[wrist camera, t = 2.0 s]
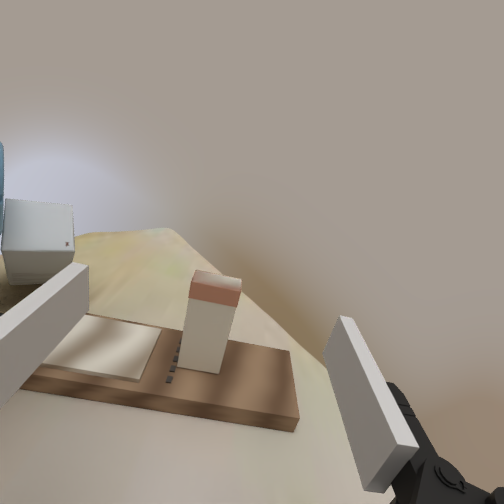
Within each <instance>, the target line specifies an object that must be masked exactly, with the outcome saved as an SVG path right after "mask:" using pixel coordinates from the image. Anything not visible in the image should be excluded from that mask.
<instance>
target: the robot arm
mask: <svg viewBox="0 0 504 504" xmlns="http://www.w3.org/2000/svg"><path fill="white" fill-rule="evenodd" d="M3 151H4V150H3V145H2V143H1V142H0V235H1V233H2V231H3V196H4V192H3V190H4V152H3ZM88 311H89V265H84V264H79V263H74V262H72V263H71V264H70V265H68V266H67V267H66V268H64V269H63V270H62V271H60V272H59V273H58V274H56V275H55V276H54V277H52V278H51V279H50V280H48V281H47V282H46V283H44V284H43V285H42V286H40V287H39V288H38V289H36V290H35V291H34V292H32V293H31V294H30V295H28V296H27V297H26V298H24V299H23V300H22V301H20V302H19V303H18V304H16V305H15V306H14V307H12V308H11V309H10V310H8V311H7V312H6V313H4V314H2V313H0V409H1V408H2V407H3V406H4V405H5V404H6V402H7V401H8V400H9V399H10V398H11V397H12V396H13V395H14V393H15V392H16V391H17V390H18V389H19V388H20V387H21V386H22V385H23V383H24V382H25V381H26V380H27V379H28V378H29V377H30V376H31V374H32V373H33V372H34V371H35V370H36V369H37V368H38V367H39V366H40V364H41V363H42V362H43V361H44V360H45V359H46V358H47V357H48V355H49V354H50V353H51V352H52V351H53V350H54V349H55V348H56V347H57V345H58V344H59V343H60V342H61V341H62V340H63V339H64V338H65V336H66V335H67V334H68V333H69V332H70V331H71V330H72V329H73V327H74V326H75V325H76V324H77V323H78V322H79V321H80V320H81V319H82V317H83V316H84V315H85V314H86V313H87V312H88ZM323 357H324V360H325V363H326V367H327V370H328V374H329V377H330V380H331V383H332V387H333V390H334V393H335V397H336V400H337V403H338V407H339V410H340V413H341V417H342V420H343V423H344V426H345V430H346V433H347V436H348V440H349V443H350V446H351V450H352V453H353V456H354V459H355V463H356V466H357V469H358V473H359V476H360V479H361V483H362V486H363V489H364V491H369V492H377V493H385V491H386V490H387V489H388V487H389V486H390V485H392V487H393V490H394V493H395V495H396V496H395V498H394V499H393V500H392V501H391V502H390V504H504V487H498V488H496V489H495V490H494V491H493V492H492V493H491V494H490V493H488V492H486V491H484V490H481V489H480V488H478V487H476V486H474V485H471V484H469V483H467V482H466V481H465V479H464V478H463V476H462V475H461V474H460V472H459V471H458V470H457V469H456V468H455V467H454V466H453V465H452V464H450V463H449V462H448V461H446V460H445V459H443V458H441V457H439V456H438V455H437V453H436V451H435V449H434V447H433V446H432V444H431V442H430V440H429V439H428V437H427V435H426V433H425V432H424V430H423V428H422V426H421V424H420V423H419V421H418V419H417V418H416V417H415V414H414V412H413V410H412V408H410V405H409V403H408V401H407V399H406V398H405V396H404V394H403V393H402V392H401V391H400V390H399V389H398V387H397V386H396V385H395V384H394V383H390V382H385V380H384V378H383V376H382V374H381V372H380V370H379V368H378V366H377V364H376V363H375V360H374V359H373V356H372V355H371V353H370V351H369V349H368V347H367V345H366V343H365V341H364V339H363V337H362V335H361V333H360V331H359V329H358V327H357V325H356V324H355V322H354V320H353V318H350V317H344V316H339V317H338V319H337V322H336V324H335V326H334V328H333V331H332V333H331V335H330V337H329V340H328V342H327V345H326V346H325V349H324V351H323Z"/></svg>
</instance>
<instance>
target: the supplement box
mask: <svg viewBox="0 0 504 504" xmlns="http://www.w3.org/2000/svg"><path fill="white" fill-rule="evenodd" d="M1 252H2V255H3V259H4V263H5V269H6V273H7V278H8V281H9V285H29V284H44V283H46V282H47V281H48V280H50V279H51V278H52V277H54V276H55V275H56V274H58V273H59V272H60V271H62V270H63V269H64V268H66V267H67V266H68V265H70V264H71V263H72V260H73V257H74V253H75V241H74V226H73V211H72V205H65V204H55V203H45V202H34V201H24V200H15V199H5V210H4V220H3V231H2V241H1Z"/></svg>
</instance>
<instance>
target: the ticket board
mask: <svg viewBox="0 0 504 504" xmlns="http://www.w3.org/2000/svg"><path fill="white" fill-rule="evenodd" d="M182 335H183V331H179V330H174V329H169V328H163V327H158V326H153V325H147V324H142V323H137V322H131V321H126V320H121V319H115V318H110V317H105V316H100V315H94V314H89V313H86V314H85V315H84V316H83V317H82V319H81V320H80V321H79V322H78V323H77V324H76V325H75V326H74V327H73V329H72V330H71V331H70V332H69V333H68V334H67V335H66V336H65V338H64V339H63V340H62V341H61V342H60V343H59V344H58V345H57V347H56V348H55V349H54V350H53V351H52V352H51V353H50V354H49V355H48V357H47V358H46V359H45V360H44V361H43V362H42V363H41V364H40V366H39V367H38V368H37V369H36V370H35V371H34V372H33V373H32V374H31V376H30V377H29V378H28V379H27V380H26V381H25V382H24V383H23V385H22V386H21V387H20V388H19V389H25V390H32V391H38V392H44V393H50V394H57V395H63V396H69V397H75V398H82V399H88V400H94V401H100V402H107V403H113V404H119V405H125V406H132V407H138V408H144V409H150V410H157V411H163V412H169V413H175V414H182V415H188V416H194V417H200V418H207V419H213V420H219V421H225V422H232V423H238V424H244V425H250V426H257V427H263V428H269V429H275V430H282V431H288V432H294V430H295V427H296V425H297V423H298V421H299V419H300V416H299V410H298V404H297V397H296V391H295V384H294V378H293V372H292V365H291V359H290V352H289V351H286V350H280V349H275V348H270V347H264V346H259V345H254V344H248V343H243V342H238V341H232V340H228V341H227V345H226V348H225V352H224V356H223V360H222V364H221V367H220V371H219V374H216V373H210V372H204V371H198V370H193V369H187V368H181V367H177V364H178V358H179V352H180V347H181V341H182Z"/></svg>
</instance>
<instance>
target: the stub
mask: <svg viewBox="0 0 504 504" xmlns="http://www.w3.org/2000/svg"><path fill="white" fill-rule="evenodd" d="M241 283H242V279H238V278H233V277H228V276H224V275H219V274H215V273H210V272H205V271H200V270H195V273H194V276H193V278H192V281H191V285H190V291H189V297H188V298H189V300H188V306H187V312H186V318H185V323H184V329H183V335H182V341H181V347H180V352H179V358H178V364H177V367H181V368H187V369H193V370H198V371H204V372H210V373H216V374H219V371H220V367H221V364H222V360H223V356H224V352H225V348H226V345H227V341H228V337H229V333H230V329H231V326H232V322H233V318H234V314H235V310H236V307H237V305H238V301H239V297H240V293H241Z"/></svg>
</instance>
